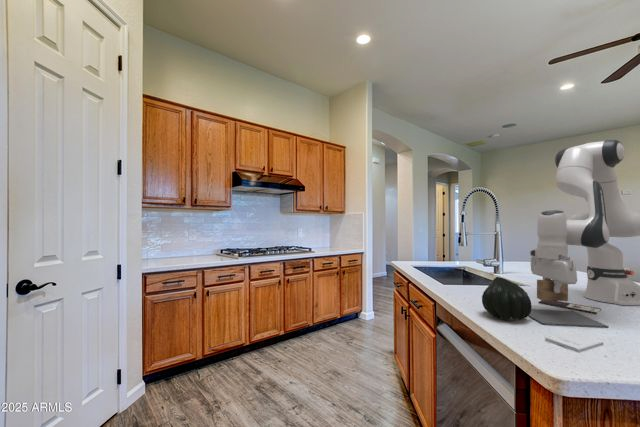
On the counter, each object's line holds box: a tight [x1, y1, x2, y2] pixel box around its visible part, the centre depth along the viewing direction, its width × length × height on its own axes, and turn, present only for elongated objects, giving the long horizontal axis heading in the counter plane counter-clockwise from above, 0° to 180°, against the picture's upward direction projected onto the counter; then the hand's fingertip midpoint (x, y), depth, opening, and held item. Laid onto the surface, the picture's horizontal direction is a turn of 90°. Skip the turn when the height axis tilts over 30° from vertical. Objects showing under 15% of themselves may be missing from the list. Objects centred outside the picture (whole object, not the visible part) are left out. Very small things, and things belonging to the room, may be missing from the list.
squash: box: [481, 276, 533, 321], centre depth 105 cm, size 14×15×15 cm
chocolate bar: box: [537, 300, 602, 315], centre depth 118 cm, size 9×1×18 cm
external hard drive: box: [544, 331, 604, 353], centre depth 83 cm, size 2×8×12 cm
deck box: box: [536, 279, 569, 302], centre depth 107 cm, size 9×3×7 cm, turn 82°
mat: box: [527, 308, 609, 329], centre depth 104 cm, size 20×16×1 cm
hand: (552, 291), depth 107 cm, fingers closed on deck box, 3 cm apart
